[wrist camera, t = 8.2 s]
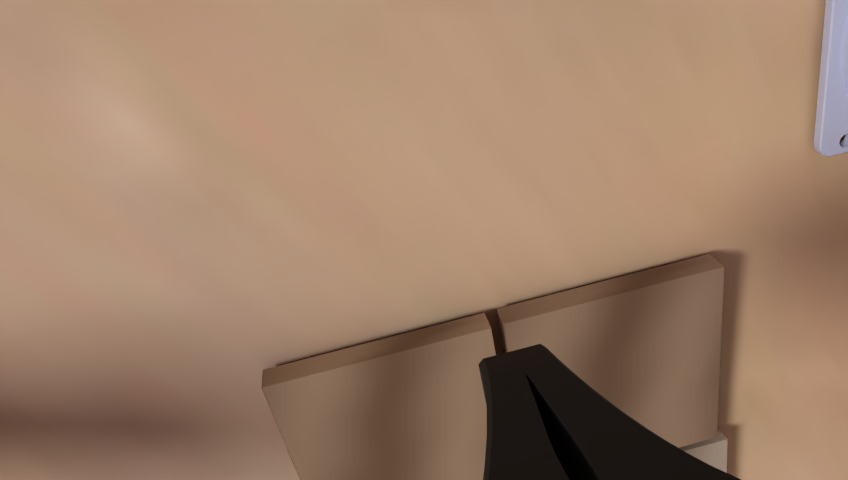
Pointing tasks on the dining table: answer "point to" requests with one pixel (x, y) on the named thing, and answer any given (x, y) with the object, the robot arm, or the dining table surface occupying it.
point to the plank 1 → (388, 406)
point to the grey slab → (710, 451)
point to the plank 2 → (638, 343)
